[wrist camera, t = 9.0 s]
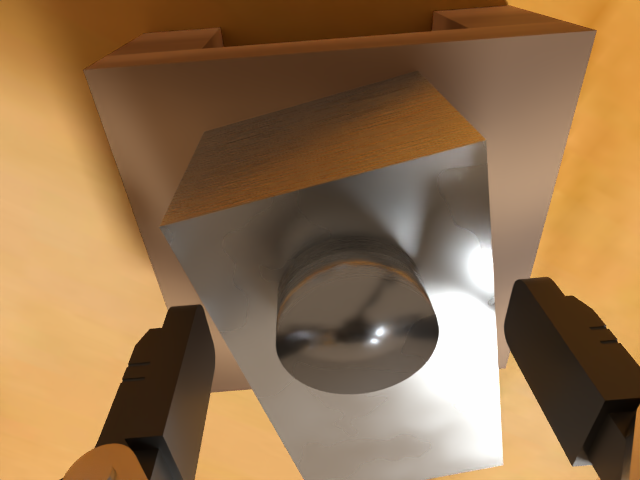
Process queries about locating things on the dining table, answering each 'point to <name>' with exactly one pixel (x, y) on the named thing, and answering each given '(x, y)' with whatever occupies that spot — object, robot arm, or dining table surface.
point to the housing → (353, 278)
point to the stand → (335, 77)
